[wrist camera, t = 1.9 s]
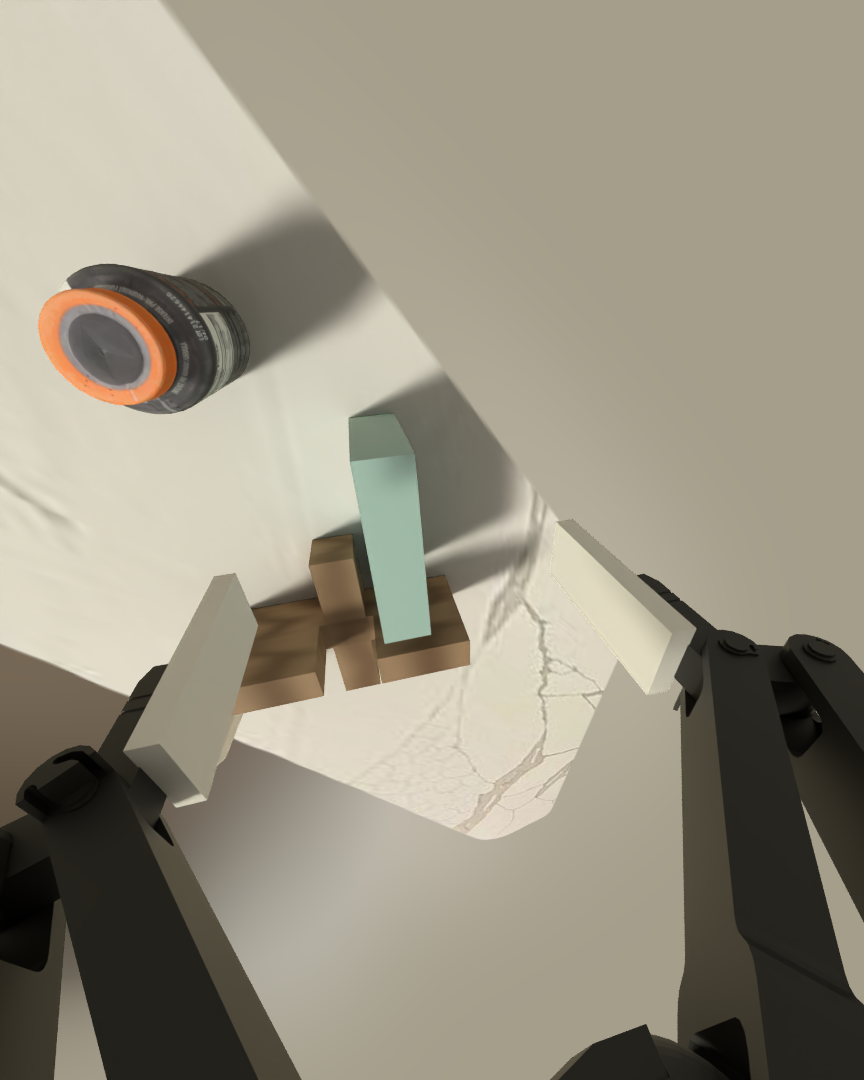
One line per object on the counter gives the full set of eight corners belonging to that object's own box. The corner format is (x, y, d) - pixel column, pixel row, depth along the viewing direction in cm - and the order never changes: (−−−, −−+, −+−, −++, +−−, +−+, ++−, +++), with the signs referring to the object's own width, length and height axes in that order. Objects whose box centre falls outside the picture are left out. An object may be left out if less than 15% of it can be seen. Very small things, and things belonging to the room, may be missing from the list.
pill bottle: (123, 326, 22) (-43, 333, 13) (186, 254, 21) (57, 202, 12) (212, 405, 25) (133, 458, 16) (271, 345, 24) (224, 364, 15)
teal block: (348, 417, 28) (349, 461, 19) (394, 412, 28) (414, 453, 20) (375, 566, 35) (384, 643, 27) (410, 560, 35) (431, 634, 27)
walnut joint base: (270, 675, 39) (252, 759, 32) (213, 555, 31) (171, 631, 23) (448, 639, 42) (470, 709, 35) (441, 519, 34) (469, 578, 26)
